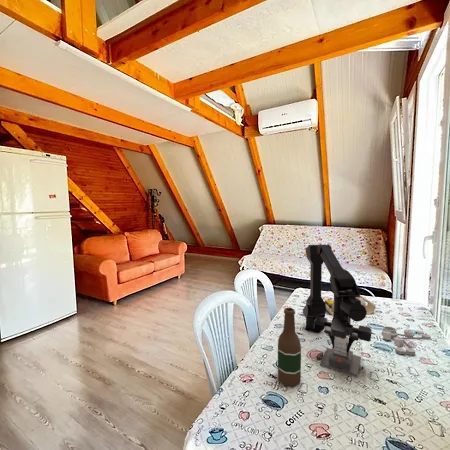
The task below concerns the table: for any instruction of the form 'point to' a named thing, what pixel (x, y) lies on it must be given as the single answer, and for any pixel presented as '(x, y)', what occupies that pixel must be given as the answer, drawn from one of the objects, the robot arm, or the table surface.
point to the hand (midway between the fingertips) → (341, 350)
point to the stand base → (341, 362)
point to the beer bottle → (289, 352)
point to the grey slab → (341, 347)
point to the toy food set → (369, 307)
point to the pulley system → (391, 334)
